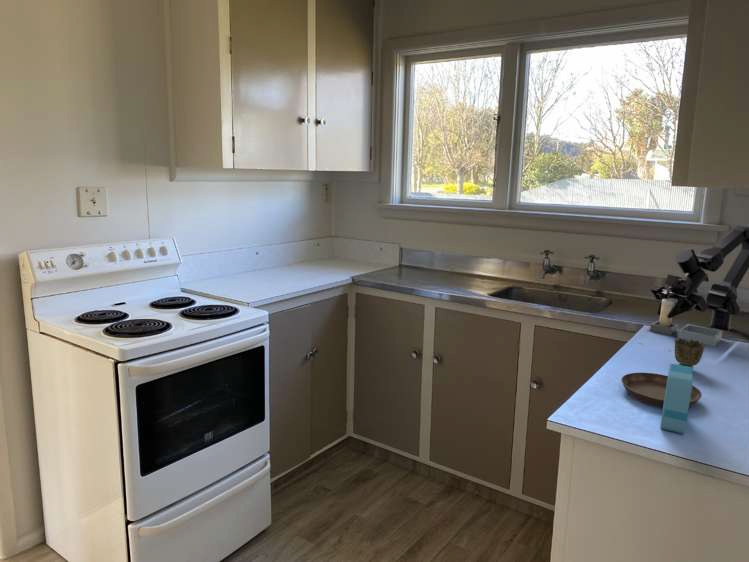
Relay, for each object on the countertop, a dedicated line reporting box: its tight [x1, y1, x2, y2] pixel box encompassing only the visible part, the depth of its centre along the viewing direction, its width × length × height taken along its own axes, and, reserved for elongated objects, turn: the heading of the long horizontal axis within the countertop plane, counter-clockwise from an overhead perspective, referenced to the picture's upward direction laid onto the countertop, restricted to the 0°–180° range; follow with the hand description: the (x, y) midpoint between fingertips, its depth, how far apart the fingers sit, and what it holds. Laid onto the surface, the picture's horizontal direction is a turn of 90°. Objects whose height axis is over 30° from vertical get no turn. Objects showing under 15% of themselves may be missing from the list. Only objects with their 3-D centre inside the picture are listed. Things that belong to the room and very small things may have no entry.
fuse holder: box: [645, 320, 679, 338], centre depth 193 cm, size 9×9×4 cm
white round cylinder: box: [658, 299, 676, 327], centre depth 192 cm, size 4×4×11 cm
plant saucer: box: [620, 372, 703, 408], centre depth 139 cm, size 18×18×3 cm
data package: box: [660, 363, 694, 435], centre depth 123 cm, size 12×4×12 cm, turn 151°
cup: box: [674, 338, 706, 369], centre depth 159 cm, size 8×7×8 cm
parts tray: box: [677, 323, 724, 347], centre depth 186 cm, size 10×10×4 cm
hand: (663, 315), depth 192 cm, fingers closed on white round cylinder, 4 cm apart
